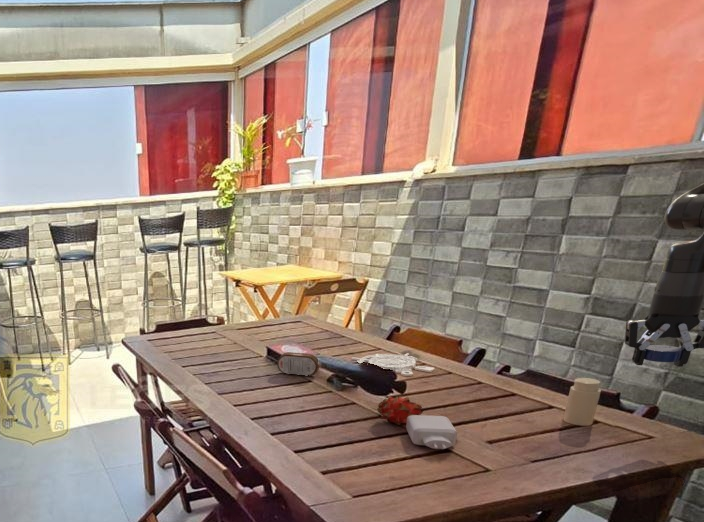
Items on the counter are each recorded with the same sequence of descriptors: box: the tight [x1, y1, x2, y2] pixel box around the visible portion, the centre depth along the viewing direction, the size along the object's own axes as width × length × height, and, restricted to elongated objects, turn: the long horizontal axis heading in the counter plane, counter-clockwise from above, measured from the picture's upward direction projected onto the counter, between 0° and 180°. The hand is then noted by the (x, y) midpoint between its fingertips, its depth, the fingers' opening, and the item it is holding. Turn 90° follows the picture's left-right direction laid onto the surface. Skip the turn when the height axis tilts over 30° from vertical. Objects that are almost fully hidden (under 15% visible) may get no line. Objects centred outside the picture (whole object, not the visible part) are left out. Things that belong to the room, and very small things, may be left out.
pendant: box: [351, 352, 436, 377], centre depth 183 cm, size 21×28×1 cm
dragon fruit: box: [376, 395, 425, 426], centre depth 136 cm, size 8×8×12 cm
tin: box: [276, 351, 321, 377], centre depth 183 cm, size 15×3×8 cm, turn 52°
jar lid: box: [644, 344, 682, 363], centre depth 112 cm, size 6×6×2 cm
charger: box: [405, 414, 458, 450], centre depth 123 cm, size 5×9×15 cm
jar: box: [562, 377, 602, 427], centre depth 125 cm, size 6×6×11 cm
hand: (658, 364), depth 113 cm, fingers closed on jar lid, 6 cm apart
